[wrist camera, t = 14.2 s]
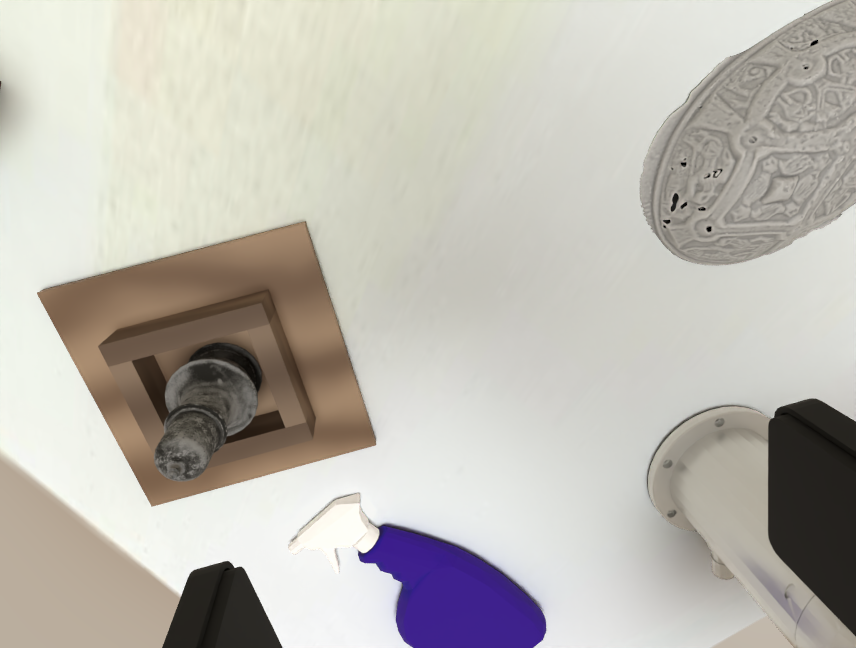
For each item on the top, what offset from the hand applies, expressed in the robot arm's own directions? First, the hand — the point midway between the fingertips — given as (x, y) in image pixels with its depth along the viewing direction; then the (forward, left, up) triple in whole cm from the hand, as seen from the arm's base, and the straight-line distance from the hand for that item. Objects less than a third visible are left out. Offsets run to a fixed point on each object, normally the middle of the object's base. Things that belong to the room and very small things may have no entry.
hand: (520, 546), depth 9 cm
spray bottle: (-32, +6, -31) cm, 45 cm away
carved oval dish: (-1, -29, -31) cm, 43 cm away
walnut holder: (-7, +15, -30) cm, 35 cm away
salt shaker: (-7, +15, -30) cm, 34 cm away
